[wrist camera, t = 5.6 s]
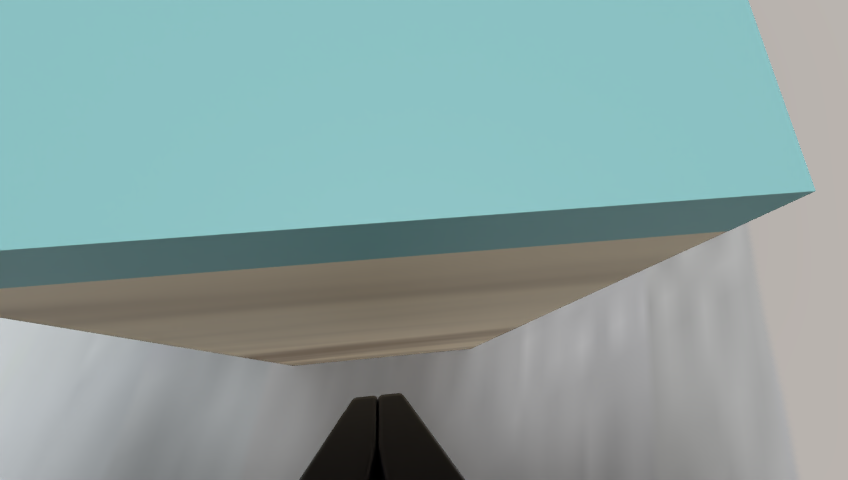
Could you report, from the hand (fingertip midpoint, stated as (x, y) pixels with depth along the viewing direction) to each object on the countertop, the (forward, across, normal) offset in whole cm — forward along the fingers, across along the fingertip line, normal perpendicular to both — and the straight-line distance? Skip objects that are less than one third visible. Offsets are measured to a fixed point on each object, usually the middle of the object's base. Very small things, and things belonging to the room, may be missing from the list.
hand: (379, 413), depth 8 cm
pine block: (+9, 0, -3) cm, 9 cm away
